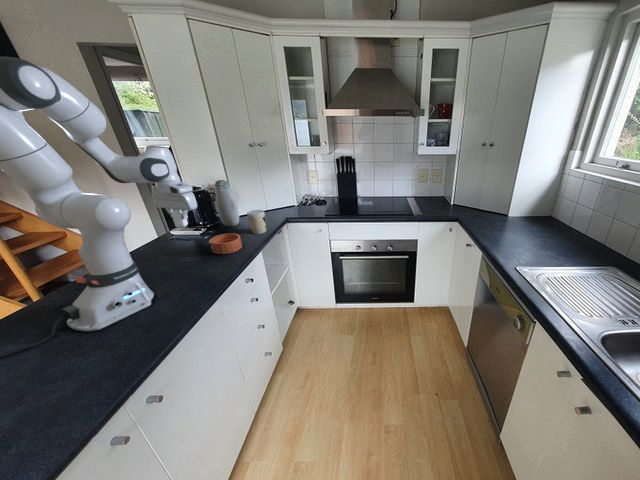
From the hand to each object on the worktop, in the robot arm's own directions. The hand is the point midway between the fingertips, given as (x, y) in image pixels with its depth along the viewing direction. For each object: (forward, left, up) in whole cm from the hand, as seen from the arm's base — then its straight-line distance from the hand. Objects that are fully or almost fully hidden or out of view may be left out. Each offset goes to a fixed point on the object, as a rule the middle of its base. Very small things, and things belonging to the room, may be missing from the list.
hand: (179, 218), depth 121 cm
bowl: (+12, -9, -20) cm, 25 cm away
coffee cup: (+38, -8, -20) cm, 44 cm away
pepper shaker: (0, 0, -4) cm, 4 cm away
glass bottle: (+41, +14, -20) cm, 48 cm away
